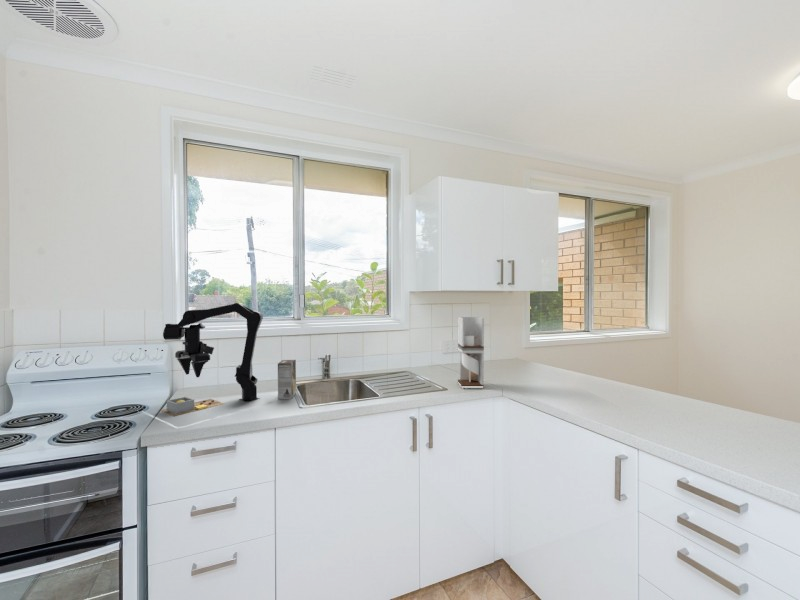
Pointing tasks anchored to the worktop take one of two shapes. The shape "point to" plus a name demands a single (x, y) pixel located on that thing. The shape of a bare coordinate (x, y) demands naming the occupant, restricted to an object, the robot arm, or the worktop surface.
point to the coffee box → (286, 379)
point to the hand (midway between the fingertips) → (192, 375)
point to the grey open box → (180, 405)
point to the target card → (200, 407)
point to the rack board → (206, 402)
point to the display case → (471, 350)
